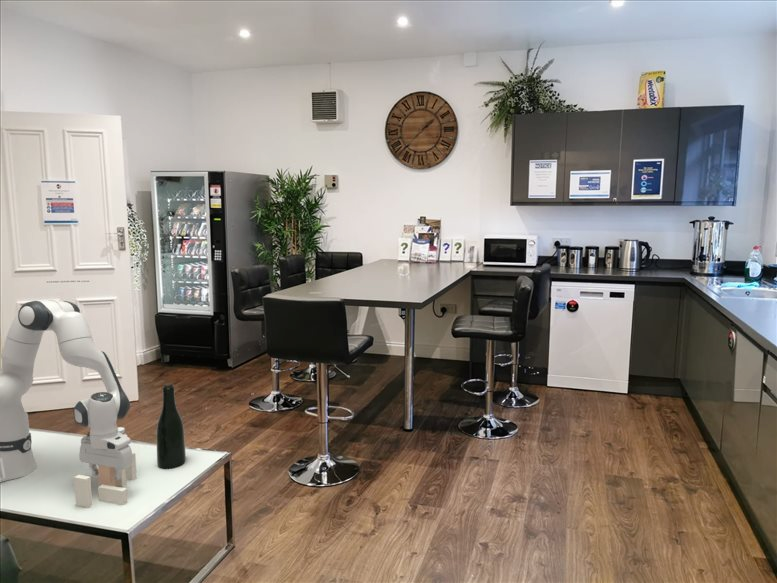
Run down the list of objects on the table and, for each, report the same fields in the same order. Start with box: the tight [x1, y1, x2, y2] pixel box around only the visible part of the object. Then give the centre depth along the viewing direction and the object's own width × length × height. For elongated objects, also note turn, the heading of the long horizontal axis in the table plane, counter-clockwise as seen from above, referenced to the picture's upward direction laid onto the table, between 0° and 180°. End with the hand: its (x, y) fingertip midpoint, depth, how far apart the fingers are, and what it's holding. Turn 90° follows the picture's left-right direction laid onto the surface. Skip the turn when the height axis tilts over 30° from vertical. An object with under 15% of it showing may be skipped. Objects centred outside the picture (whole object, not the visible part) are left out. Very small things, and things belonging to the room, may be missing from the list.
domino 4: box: [114, 468, 127, 488], centre depth 210 cm, size 2×5×10 cm, turn 72°
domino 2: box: [97, 465, 116, 487], centre depth 205 cm, size 2×5×10 cm, turn 71°
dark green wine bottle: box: [155, 382, 187, 470], centre depth 225 cm, size 10×10×33 cm
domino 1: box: [73, 474, 93, 508], centre depth 195 cm, size 2×5×10 cm, turn 72°
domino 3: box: [97, 485, 128, 505], centre depth 198 cm, size 2×5×10 cm
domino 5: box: [125, 452, 137, 481], centre depth 215 cm, size 2×5×10 cm, turn 72°
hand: (106, 476), depth 205 cm, fingers open, 8 cm apart
